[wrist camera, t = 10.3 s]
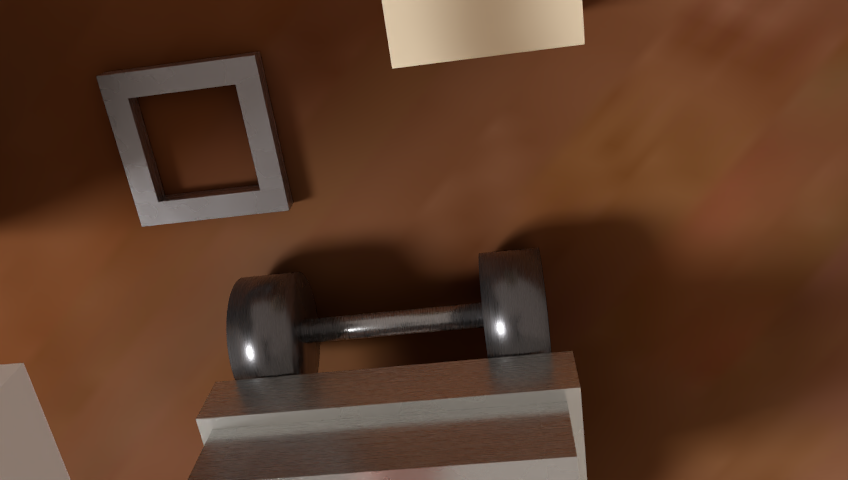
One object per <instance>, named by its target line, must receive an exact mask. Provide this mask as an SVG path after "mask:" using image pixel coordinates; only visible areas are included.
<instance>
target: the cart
mask: <svg viewBox="0 0 848 480" xmlns="http://www.w3.org/2000/svg"><path fill="white" fill-rule="evenodd" d="M479 276H480V290H481V301H482V303H472V304H461V305H451V306H440V307H430V308H419V309H409V310H398V311H388V312H377V313H367V314H356V315H346V316H335V317H325V318H318V316H317V310H316V305H315V301H314V296H313V293H312V290H311V287H310V285H309V282H308V280H307V279H306V277H305V276H304V275H303V274H302V273H301V272H293V273H283V274H273V275H264V276H254V277H244V278H240V279H239V280H238V281H237V282H236V283H235V285H234V286H233V289H232V291H231V294H230V298H229V303H228V310H227V329H226V330H227V346H228V353H229V359H230V364H231V368H232V372H233V375H234V378H235V380H233V381H222V382H215V384H214V386H213V388H212V390H211V391H210V393H209V395H208V397H207V399H206V401H205V403H204V405H203V407H202V408H201V410H200V412H199V414H198V416H197V418H196V421H197V425H198V428H199V431H200V434H201V438H202V441H203V444H204V447H203V449H202V451H201V453H200V455H199V457H198V459H197V462H196V464H195V466H194V468H193V470H192V472H191V474H190V476H189V478H188V480H587V470H586V457H585V443H584V429H583V415H582V401H581V387H580V383H579V378H578V373H577V369H576V364H575V359H574V355H573V351H565V352H554V353H551V344H550V333H549V323H548V313H547V304H546V295H545V287H544V279H543V271H542V264H541V257H540V252H539V248H528V249H519V250H509V251H499V252H489V253H479ZM480 327H484V331H485V340H486V348H487V355H488V358H485V359H474V360H462V361H451V362H439V363H428V364H416V365H405V366H394V367H382V368H371V369H359V370H348V371H336V372H325V373H318V367H319V355H320V342H327V341H338V340H349V339H360V338H371V337H382V336H393V335H404V334H415V333H425V332H436V331H447V330H458V329H469V328H480Z"/></svg>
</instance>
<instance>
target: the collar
mask: <svg viewBox="0 0 848 480" xmlns="http://www.w3.org/2000/svg"><path fill="white" fill-rule="evenodd" d="M96 78H97V81H98V84H99V87H100V91H101V94H102V97H103V100H104V104H105V107H106V110H107V114H108V117H109V120H110V123H111V127H112V130H113V133H114V136H115V140H116V143H117V146H118V150H119V153H120V156H121V159H122V163H123V166H124V169H125V172H126V176H127V179H128V182H129V186H130V189H131V192H132V195H133V199H134V202H135V205H136V209H137V212H138V215H139V218H140V222H141V225H142V227H143V226H152V225H161V224H170V223H179V222H188V221H197V220H206V219H215V218H224V217H233V216H242V215H251V214H260V213H269V212H278V211H287V210H290V208H291V206H292V204H293V200H292V196H291V191H290V187H289V182H288V178H287V173H286V168H285V164H284V159H283V155H282V150H281V146H280V141H279V137H278V132H277V128H276V123H275V118H274V114H273V109H272V105H271V100H270V96H269V91H268V87H267V82H266V78H265V73H264V68H263V64H262V59H261V55H260V51H259V52H251V53H244V54H236V55H229V56H221V57H214V58H206V59H199V60H192V61H184V62H177V63H169V64H162V65H154V66H147V67H139V68H132V69H124V70H117V71H109V72H104V73H102V74H100V75H98V76H96ZM227 85H236V89H237V93H238V98H239V102H240V106H241V110H242V115H243V119H244V123H245V127H246V132H247V136H248V140H249V144H250V148H251V153H252V157H253V161H254V165H255V170H256V174H257V178H258V182H259V185H250V186H241V187H232V188H224V189H215V190H206V191H198V192H189V193H180V194H172V195H165V193H164V190H163V186H162V183H161V179H160V176H159V173H158V169H157V166H156V162H155V159H154V155H153V152H152V148H151V145H150V141H149V138H148V134H147V131H146V127H145V124H144V120H143V117H142V113H141V110H140V107H139V103H138V100H137V97H142V96H150V95H158V94H165V93H173V92H181V91H188V90H196V89H204V88H212V87H219V86H227Z"/></svg>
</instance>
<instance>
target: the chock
mask: <svg viewBox="0 0 848 480" xmlns="http://www.w3.org/2000/svg"><path fill="white" fill-rule="evenodd" d="M382 5H383V12H384V19H385V25H386V32H387V38H388V45H389V51H390V58H391V64H392V69H393V68H401V67H409V66H416V65H424V64H432V63H440V62H448V61H456V60H464V59H472V58H479V57H487V56H495V55H503V54H511V53H519V52H527V51H534V50H542V49H550V48H558V47H566V46H574V45H582V44H585V42H584V25H583V7H582V0H382Z"/></svg>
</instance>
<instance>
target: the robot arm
mask: <svg viewBox="0 0 848 480" xmlns="http://www.w3.org/2000/svg"><path fill="white" fill-rule="evenodd" d="M0 480H70V477H69V475H68V472H67V470H66V467H65V465H64V462H63V460H62V457H61V455H60V452H59V450H58V448H57V445H56V443H55V440H54V438H53V435H52V433H51V430H50V428H49V425H48V423H47V420H46V418H45V415H44V413H43V410H42V408H41V405H40V403H39V400H38V398H37V395H36V393H35V390H34V388H33V385H32V383H31V380H30V378H29V375H28V373H27V370H26V368H25V366H24V363H18V364H4V365H0Z"/></svg>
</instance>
